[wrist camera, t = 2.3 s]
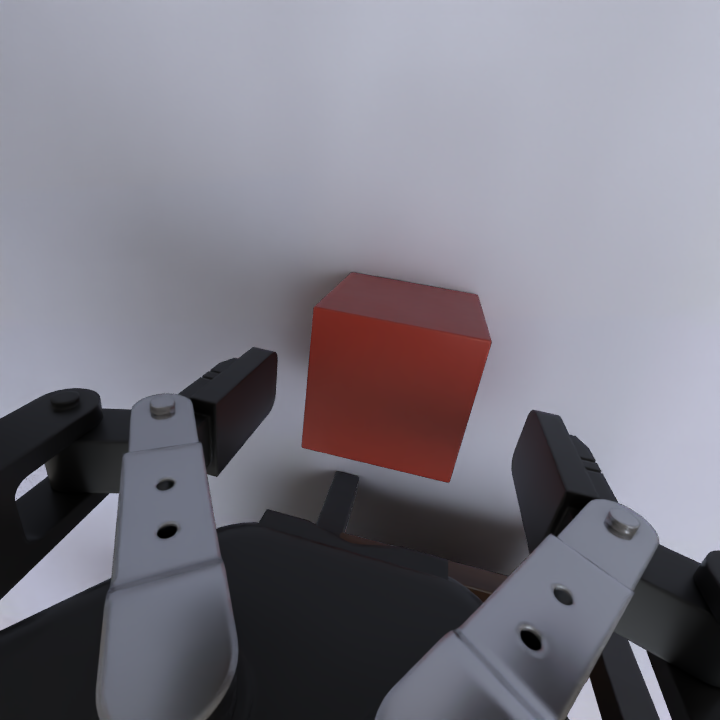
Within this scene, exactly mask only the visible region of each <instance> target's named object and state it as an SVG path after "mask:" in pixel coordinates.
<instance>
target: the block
mask: <svg viewBox="0 0 720 720" xmlns="http://www.w3.org/2000/svg"><path fill="white" fill-rule="evenodd" d="M491 343H492V341H491V338H490V334H489V331H488V327H487V324H486V321H485V317H484V314H483V310H482V307H481V304H480V300H479V297H478V295H476V294H471V293H465V292H460V291H454V290H449V289H443V288H437V287H432V286H426V285H421V284H415V283H410V282H404V281H399V280H393V279H388V278H382V277H376V276H371V275H365V274H360V273H354V272H351V273H350V274H349V275H348V276H347V277H346V278H345V279H344V280H342V281H341V282H340V283H339V284H338V285H337V286H336V287H335V288H334V289H333V290H332V291H331V292H329V293H328V294H327V295H326V296H325V297H324V298H323V299H322V300H321V301H320V302H319V303H318V304H316V305H315V306H314V308H313V319H312V331H311V342H310V354H309V365H308V377H307V389H306V400H305V412H304V423H303V435H302V448H306V449H310V450H314V451H318V452H322V453H326V454H331V455H335V456H339V457H343V458H347V459H351V460H355V461H360V462H364V463H368V464H372V465H376V466H380V467H385V468H389V469H393V470H397V471H401V472H405V473H410V474H414V475H418V476H422V477H426V478H430V479H435V480H439V481H443V482H447V483H449V482H450V479H451V476H452V473H453V469H454V466H455V463H456V459H457V456H458V453H459V449H460V446H461V443H462V440H463V436H464V433H465V430H466V426H467V423H468V420H469V416H470V413H471V410H472V406H473V403H474V400H475V396H476V393H477V390H478V386H479V383H480V380H481V376H482V373H483V370H484V366H485V363H486V360H487V356H488V353H489V350H490V347H491Z"/></svg>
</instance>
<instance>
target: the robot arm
mask: <svg viewBox="0 0 720 720" xmlns="http://www.w3.org/2000/svg"><path fill="white" fill-rule="evenodd" d="M277 362H278V357H277V353H276V352H273V351H269V350H264V349H260V348H255V347H252V348H251V349H250V350H248V351H247V352H246V353H245V354H243V355H242V356H241V357H240V358H232V359H229V360H227V361H224V362H221V363H219V364H218V365H216V366H215V367H214V368H212V369H211V370H210V372H209V371H208V372H207V373H206V374H204V375H203V376H202V378H201V377H200V378H199V379H198V380H196V381H195V382H194V383H192V384H191V385H190V386H188V387H187V388H186V389H184V390H183V391H182V392H180V393H179V394H170V393H166V394H156V395H152V396H149V397H146V398H143V399H141V400H140V401H138V402H137V403H135V404H134V405H133V407H132V409H131V410H127V409H102V406H101V400H100V396H99V394H98V393H96V392H95V391H92V390H89V389H81V388H72V389H63V390H58V391H54V392H51V393H48V394H45V395H43V396H41V397H39V398H37V399H35V400H34V401H32V402H30V403H28V404H26V405H25V406H23V407H21V408H19V409H17V410H15V411H14V412H12V413H10V414H8V415H6V416H4V417H3V418H1V419H0V600H1V599H2V598H3V597H4V596H5V595H6V594H7V593H8V592H9V591H10V590H11V589H12V588H13V587H14V586H15V585H16V584H17V583H18V582H19V581H20V580H21V579H22V578H23V577H24V576H25V575H26V574H27V573H28V572H29V571H30V570H31V569H32V568H33V567H34V566H35V565H36V564H37V563H39V562H40V561H41V560H42V559H43V558H44V557H45V556H46V555H47V554H48V553H49V552H50V551H51V550H52V549H53V548H54V547H55V546H56V545H57V544H58V543H59V542H60V541H61V540H62V539H63V538H64V537H65V536H66V535H67V534H68V533H69V532H70V531H71V530H72V529H73V528H74V527H75V526H76V525H77V524H79V523H80V522H81V521H82V520H83V519H84V518H85V517H86V516H87V515H88V514H89V513H90V512H91V511H92V510H93V509H94V508H95V507H96V506H97V505H98V504H99V503H100V502H101V501H102V500H103V499H104V498H105V497H106V496H107V495H108V494H109V493H119V500H118V511H117V522H116V533H115V544H114V555H113V566H112V577H111V578H110V579H108V580H106V581H104V582H101V583H99V584H97V585H95V586H93V587H91V588H89V589H87V590H85V591H83V592H81V593H78V594H76V595H74V596H72V597H70V598H68V599H66V600H64V601H62V602H60V603H57V604H55V605H53V606H51V607H49V608H47V609H45V610H43V611H41V612H39V613H37V614H34V615H32V616H30V617H28V618H26V619H24V620H22V621H20V622H18V623H16V624H14V625H11V626H9V627H7V628H5V629H3V630H1V631H0V720H569V719H568V717H567V715H568V713H569V711H570V709H571V707H572V706H573V704H574V702H575V700H576V698H577V697H578V695H579V693H580V691H581V689H582V687H583V686H584V684H585V682H586V680H587V678H588V677H589V675H590V673H591V671H592V669H593V667H594V666H595V664H596V662H597V660H598V658H599V657H600V655H601V653H602V651H603V649H604V648H605V646H606V644H607V642H608V640H609V638H610V637H611V635H612V633H613V632H615V633H617V634H619V635H620V636H622V637H624V638H626V639H627V640H629V641H631V642H633V643H635V644H636V645H638V646H640V647H642V648H643V649H645V650H646V651H647V654H648V657H649V659H650V662H651V665H652V667H653V670H654V673H655V675H656V678H657V681H658V683H659V686H660V689H661V692H662V694H663V697H664V700H665V702H666V705H667V708H668V710H669V713H670V716H671V718H672V720H720V551H719V550H718V551H712V552H710V553H709V554H708V555H707V556H706V558H705V559H704V560H703V562H702V563H699V562H696V561H694V560H692V559H690V558H688V557H685V556H683V555H681V554H679V553H677V552H674V551H672V550H670V549H668V548H666V547H664V546H662V545H660V544H659V537H658V535H657V533H656V531H655V530H654V528H653V527H652V526H651V525H650V524H649V523H648V521H646V520H645V519H644V518H643V517H642V516H640V515H639V514H638V513H636V512H635V511H633V510H632V509H630V508H628V507H626V506H624V505H622V504H619V503H618V501H617V500H616V498H615V496H614V494H613V492H612V490H611V488H610V487H609V485H608V483H607V481H606V479H605V477H604V476H603V474H602V473H601V470H600V468H599V466H598V464H597V463H595V459H594V457H593V455H592V453H591V451H590V450H589V448H588V447H587V446H586V445H585V444H584V443H583V442H581V441H580V440H579V439H578V438H577V437H576V436H573V435H569V433H568V431H567V429H566V427H565V425H564V423H563V421H562V419H561V417H560V416H559V415H554V414H550V413H545V412H541V411H536V410H532V411H531V412H530V413H529V415H528V417H527V419H526V422H525V425H524V427H523V430H522V432H521V435H520V438H519V440H518V443H517V446H516V448H515V451H514V454H513V458H512V476H513V480H514V485H515V489H516V494H517V498H518V503H519V507H520V512H521V517H522V521H523V526H524V530H525V535H526V539H527V544H528V548H529V553H530V555H529V556H528V557H527V558H526V559H525V560H524V561H523V562H522V563H521V564H520V565H519V566H518V567H517V568H516V569H515V570H514V571H513V573H512V574H511V575H510V576H509V577H508V578H507V579H506V580H505V581H504V582H503V583H502V584H501V585H500V586H499V587H498V588H497V589H496V590H495V591H494V592H493V593H492V594H491V595H490V596H489V597H488V598H487V600H486V601H485V602H484V603H483V602H482V601H481V600H480V599H479V598H478V597H477V596H476V595H475V594H474V593H473V592H471V591H470V590H469V589H468V588H466V587H465V586H463V585H462V584H460V583H459V582H457V581H456V580H454V579H453V578H451V577H449V576H448V559H445V558H441V557H437V556H434V555H430V554H427V553H423V552H419V551H416V550H412V549H409V548H405V547H401V546H383V545H365V544H353V543H350V542H348V541H346V540H344V539H342V538H340V537H338V536H337V535H335V534H333V533H331V532H329V531H327V530H325V529H324V528H322V527H320V526H318V525H316V524H314V523H312V522H311V521H308V520H305V519H301V518H297V517H294V516H290V515H287V514H283V513H280V512H276V511H272V510H269V509H267V510H266V511H265V513H264V515H263V516H262V518H261V520H260V522H259V523H258V522H249V523H238V524H232V525H228V526H224V527H220V528H217V529H216V525H215V519H214V513H213V507H212V501H211V495H210V489H209V483H208V477H207V474H208V475H212V476H216V477H217V476H218V475H219V474H220V473H221V471H222V470H223V469H224V468H225V467H226V465H227V464H228V463H229V462H230V460H231V459H232V458H233V457H234V456H235V454H236V453H237V452H238V451H239V449H240V448H241V447H242V446H243V445H244V443H245V442H246V441H247V440H248V438H249V437H250V436H251V435H252V433H253V432H254V431H255V430H256V429H257V427H258V426H259V425H260V424H261V422H262V421H263V420H264V419H265V418H266V416H267V415H268V414H269V413H270V411H271V409H272V407H273V404H274V401H275V395H276V379H277ZM43 464H45V467H46V471H47V475H48V477H46V478H45V479H44V480H42V481H41V482H40V483H39V484H37V485H36V486H35V487H33V488H32V489H31V490H29V491H28V492H27V493H26V494H24V495H23V496H22V497H20V498H19V499H18V500H16V501H15V494H16V491H17V488H18V486H19V485H20V483H21V482H22V481H23V480H24V479H25V478H26V477H27V476H28V475H30V474H31V473H32V472H34V471H35V470H36V469H38V468H39V467H41V466H42V465H43Z"/></svg>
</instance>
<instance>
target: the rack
mask: <svg viewBox="0 0 720 720" xmlns="http://www.w3.org/2000/svg"><path fill="white" fill-rule="evenodd" d="M358 481H359V477H358V476H354V475H350V474H346V473H342V472H336V473H335V476H334V479H333V481H332V484H331V486H330V489H329V492H328V494H327V497H326V500H325V502H324V505H323V507H322V510H321V513H320V515H319V518H318V520H317V523H316V525H318V526H320V527H322V528H324V529H325V530H327V531H329V532H331V533H333V534H335V535H337V536H338V537H340V538H342V539H344V540H346V541H348V542H350V543H353V544H365V545H383V546H392V545H388V544H385V543H381V542H377V541H373V540H369V539H366V538H362V537H358V536H354V535H351V534H347V533H345V531H346V528H347V525H348V521H349V518H350V514H351V511H352V507H353V504H354V500H355V497H356V493H357V487H358ZM448 576H449V577H451V578H453V579H454V580H456V581H457V582H459V583H460V584H462V585H463V586H465V587H466V588H468V589H469V590H470V591H471V592H473V593H474V594H475V595H476V596H477V597H478V598H479V599H480V600H481V601H482V602H483V603H484V602H485V601H486V600H487V598H488V597H489V596H490V595H491V594H492V593H493V592H494V591H495V590H496V589H497V588H498V587H499V586H500V585H501V584H502V583H503V582H504V581H505V580H506V579H507V578H508V577H509V576H506V575H502V574H498V573H494V572H491V571H487V570H483V569H479V568H475V567H472V566H468V565H464V564H460V563H457V562H453V561H449V560H448ZM589 677H590V680H591V683H592V687H593V690H594V694H595V697H596V700H597V704H598V707H599V711H600V714H601V717H602V720H660V719H659V716H658V714H657V711H656V709H655V706H654V704H653V701H652V699H651V696H650V694H649V691H648V689H647V686H646V684H645V681H644V679H643V676H642V674H641V671H640V669H639V666H638V664H637V661H636V659H635V656H634V654H633V651H632V649H631V646H630V644H629V641H628V640H627V639H626V638H624V637H622V636H620V635H619V634H617V633H615V632H613V633H612V635H611V637H610V638H609V640H608V642H607V644H606V646H605V648H604V649H603V651H602V653H601V655H600V657H599V658H598V660H597V662H596V664H595V666H594V667H593V669H592V671H591V673H590V675H589ZM589 677H588V678H587V680H588V679H589ZM587 680H586V681H587ZM585 683H586V682H585Z"/></svg>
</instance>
